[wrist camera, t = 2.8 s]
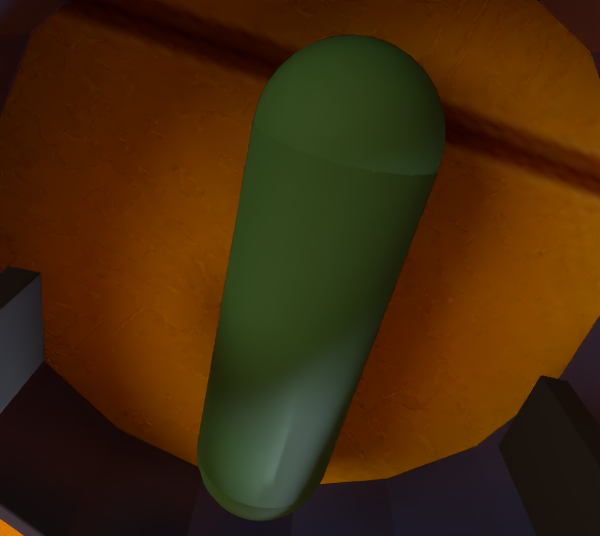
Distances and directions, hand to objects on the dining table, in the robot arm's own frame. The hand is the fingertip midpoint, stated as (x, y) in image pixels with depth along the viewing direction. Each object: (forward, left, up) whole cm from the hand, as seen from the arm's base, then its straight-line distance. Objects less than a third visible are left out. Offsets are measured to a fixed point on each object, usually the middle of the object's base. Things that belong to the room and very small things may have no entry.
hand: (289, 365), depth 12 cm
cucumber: (0, 0, -4) cm, 4 cm away
